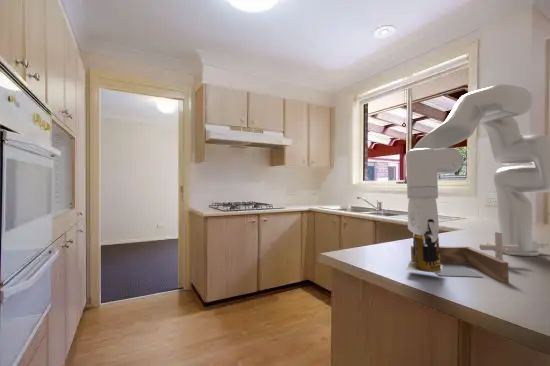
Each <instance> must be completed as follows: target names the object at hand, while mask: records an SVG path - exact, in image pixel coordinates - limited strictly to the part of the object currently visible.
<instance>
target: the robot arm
mask: <svg viewBox="0 0 550 366" xmlns="http://www.w3.org/2000/svg"><path fill="white" fill-rule="evenodd" d="M532 105H533V96H532V94H531V92H530V91H529V90H528V89H527V88H525V87H523V86H518V85H512V84H495V85H492V86H487V87H485V88H481V89H477V90H474V91H470V92H467V93H465V94H463V95H461V96H460V97H459V99H458V100H457V101H456V102H455V104H454V106H452V107H453V108H452V110H451V111H450V113H448V115H447V117H446V118H445V120H444V122H442V123H441V124H440V125H438V126H437V127H435V128H433V130H431V131H430V132H428V133H427V134H425V135H424V136H423V137H421V138H420V140H418V141H417V143H416V144H415V145H414V147H413V148H412V149H410V150H408V151H407V152H406V153H405V164H406V165H405V167H406V171H405V172H406V194H407V197H406V198H407V199H408V206H407V230H409V231H410V232H411V233H412V234H413V235H412V241H413V242H412V243H413V244H412V246H413V247H414V254H415V245H414V235H415V234H417V235H419V236H421V235H422V238H423V243H424V246H422V250H423V261H425V262H435V261H436V260H437V259H436V246H437V244H436V242H437V238H439V231H440V230H439V229H440V228H439V224H440V223H439V212H438V205H437V204H438V203H437V199H439V191H438V190H439V189H438V188H439V187H438V183H439V182H438V175H450V174H454V173H456V172H458V171H459V170H460V169H461V168H462V167H463V163H464V157H463V155H462V153H461V151H459V150H458V149H456V148H453V147H452V146H454V145H456V144H459V143H461V142H463V141H465V140H467V139H469V138H471V136H472V135H473V134H474V132H475V130H476V128H477V127H478V125H481V126H482V127H483V128H484V129H485V130H486V132H487V133H486V134H487V136H488V140H489V145H490V147H491V148H490V149H491V152H492V156H493V158H494V161H495V162H496V163H498V164H500V165H510V166H504V167H500V168H498V169H497V170H495V172H494V174H493V183H494V187H495V192H496V198H497V229H498V231H497V232H502V241H503V245H518V247H519V251H513V253H512V254H511V255H512V256H522V257H523V256H524V257H537V256H539V255H540V251H539V250H538V249H549V248H550V245H549V243H548V242H539V241H537V240H534V229H533V227H534V226H533V225H534V223H533V222H534V219H533V204H532V201H531V200H530V199H529V197H527V196H526V194H525V193H550V136H549V135H547V134H543V133H537V134H527V135H522V134H521V132H520V128H519V123H518V121H517V120H516V119H515V118H514V117H518V116H523V115H525V114H526V113H528V112H529V111H530V110H531V109H532ZM517 164H526V165H517ZM527 164H528V165H527ZM425 233H430V234H425ZM426 237H430V238H428V240H427V239H426ZM511 255H510V256H511Z"/></svg>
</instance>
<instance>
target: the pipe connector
mask: <svg viewBox="0 0 550 366" xmlns="http://www.w3.org/2000/svg"><path fill="white" fill-rule="evenodd" d="M479 249H480V251H495V252H494V253H495V254H494V255H495V256H494V257H495V258H498V259H500V260H503V261H504V254H505V255H509V256H511V254H512V253H513V251H519V247H518V245H503V241H502V232H498V231H494V242H492V241H488V242H487V243H486V244H483V243H481V244H480V243H479Z"/></svg>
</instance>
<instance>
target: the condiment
mask: <svg viewBox="0 0 550 366" xmlns="http://www.w3.org/2000/svg"><path fill="white" fill-rule="evenodd" d="M425 234H430V233H425ZM428 238H430V237H426V239H427V240H428ZM439 240H440V238H439V237H438V238H437V242H436V244H437V246H436V259H437V260H436V261H435V262H425V261H423V250H422V246H424V243H423V238H422V235H421V236H419V235H417V234H415V235H414V245H415V260H416V262H412V261H409V262H408V265H407V267H406V270H409V271H416V272H425V273H435V274H436V273H442V267H443V265H444V264H441V263H440V252H439V246H440V241H439Z"/></svg>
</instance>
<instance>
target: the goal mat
mask: <svg viewBox="0 0 550 366" xmlns="http://www.w3.org/2000/svg"><path fill="white" fill-rule="evenodd" d="M442 265H443V267H442V273H435V274H436V275H437V276H439V277H456V278H457V277H458V278H459V277H460V278H465V277H467V278H484V277H483V276H482V275H481V274H478V273H477V272H475V271H473V270H472V269H470V268H468V267H466V266H465V265H451V264H449V265H448V264H442Z"/></svg>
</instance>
